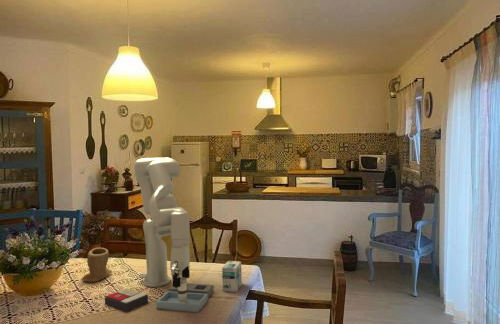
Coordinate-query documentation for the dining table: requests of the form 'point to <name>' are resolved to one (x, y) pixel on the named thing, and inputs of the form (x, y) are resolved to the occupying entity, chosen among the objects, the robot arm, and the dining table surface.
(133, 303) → the calculator
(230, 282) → the light bulb box
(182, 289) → the cylinder
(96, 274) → the stone cup
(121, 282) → the dining table surface
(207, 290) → the block
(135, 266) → the dining table surface
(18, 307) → the dining table surface
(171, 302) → the parts tray
